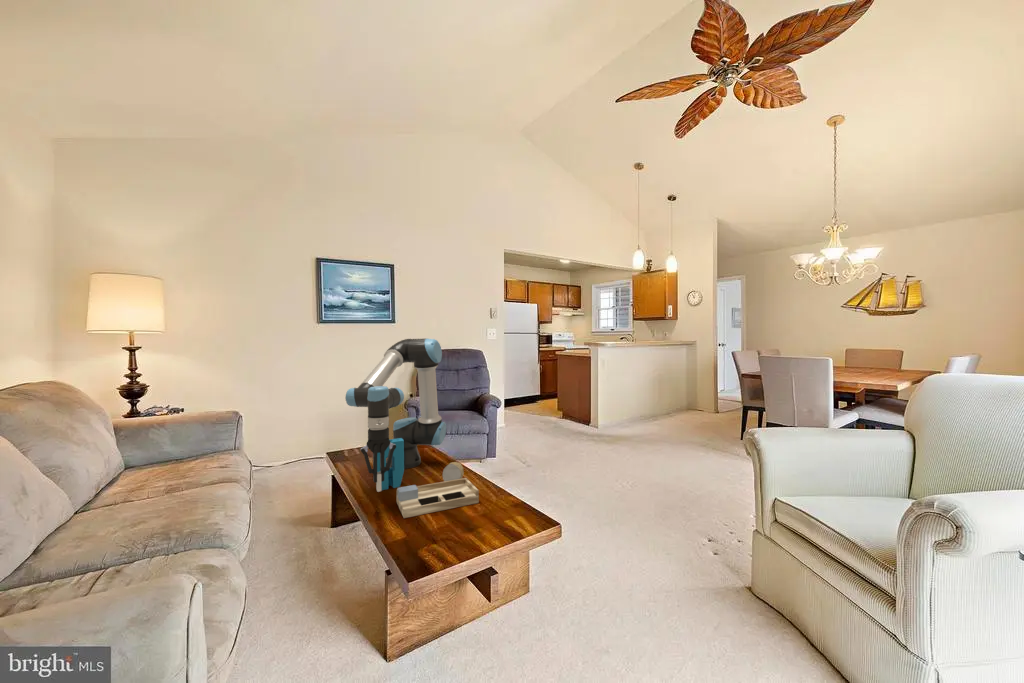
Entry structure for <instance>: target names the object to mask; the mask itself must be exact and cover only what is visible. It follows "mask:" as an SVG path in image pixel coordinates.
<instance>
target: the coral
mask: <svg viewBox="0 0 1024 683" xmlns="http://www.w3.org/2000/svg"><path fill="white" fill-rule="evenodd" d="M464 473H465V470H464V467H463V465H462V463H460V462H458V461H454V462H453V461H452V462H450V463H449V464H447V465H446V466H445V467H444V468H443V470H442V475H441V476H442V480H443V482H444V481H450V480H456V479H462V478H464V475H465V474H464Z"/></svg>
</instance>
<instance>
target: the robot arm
mask: <svg viewBox="0 0 1024 683" xmlns="http://www.w3.org/2000/svg"><path fill="white" fill-rule="evenodd" d="M442 351H443V350H442V346H441V343H440V342H439V341H438V340H437V339H435V338H404V339H401V340H400V341H397V342H395V343H394V344H393V345H391V346H390V347H388V349H386V351H385V352H384V354H383V358H382V359H381V360H380V361H379V362H378V363H377V365H376V366H375V367H374V369H372V371H370V373H369V374H368V375H367V376H366V377H365V379H364V380H363V381H362V382H361V383H360V385H358V387H351V388H349V389H347V391H346V394H345V401H346V404H347V406H349V407H354V408H367V428H368V429H367V441H366V445H364V446H363V447H360V451H361V453H362V454H363V456H364V460H365V463H366V468H367V471H368V473H369V474H372V475H373V476H372V477H373V478H372V479H373V483H374V484H376V485H375V486H376V487H375V488H376V492H378V493H379V492H382V490H381V482H382V481H384V473H385V472H386V471H389V469H390V467H392V456H393V452H394V450H395V448H396V445H395V444H393V443H391V442H390V428H389V426H390V417H389V416H390V414H389V412H390V409H393V408H396V407H398V406H399V405H401V404H402V403H403V401H404V400H405V394H404V392H403V390H402V389H401V388H399V387H391V388H389V387H388V386H385V384H386V382H387V381H388V379H389V378H390V377H391V375H392V374H393V373H394V372H395V370H396V369H397V368H399V367H401V366H402V365H403V364H405V363H413V368H415V370H417V379H418V393H419V394H418V395H419V407H420V417H418V418H417V417H414V416H413V417H405V418H401V419H398V420H396V421H394V422H393V426H392V428H393V429H392V431H393V432H392V434H393V437H392V439H397V438H402V439H403V440H404V470H406V469H411V468H412V469H413V468H416V467H418V466H420V464H421V462H422V461H421V456H420V452H419V450H418V446H432V447H433V446H440V445H441V444H443V442H444V441H445V437H446V434H447V424H446V422H445V421H443V420H442V419H443V418H442V416H441V415H440V414H439V407H438V405H439V404H438V389H437V374H436V369H437V368H438V366H439V363H441V361H442V359H443V358H442V357H443V352H442ZM388 446H389V448H390V450H389V454H388V457H387V458H386V466H385V467H384V455H385V451H386V449H387V448H388ZM368 449H369V450H370V452H372V465H371V462H370V459H369V455H368V451H369V450H368ZM377 453H380V472H377Z"/></svg>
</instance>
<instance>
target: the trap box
mask: <svg viewBox="0 0 1024 683" xmlns="http://www.w3.org/2000/svg"><path fill="white" fill-rule="evenodd" d="M416 487H417V488H418V498H416V499H411V500H405V501H399V499H398V497H397V496H396V504H397V506H398V509H399V511H400V513H401V515H402V517H403V519H407V518H412V517H417V516H421V515H426V514H430V513H435V512H440V511H441V512H442V511H445V510H450V509H451V510H452V509H455V508H460V507H464V506H469V505H475V504H479V502H480V500H479V498H480V491H479V489H478V488H477V487H476V486H475V484H474V483H472V482H471V481H470V480H469V479H468V478H467V477H462V479H456V480H450V481H444V480H443V481H440V482H434V483H428V484H422V485H416ZM396 494H397V489H396Z"/></svg>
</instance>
